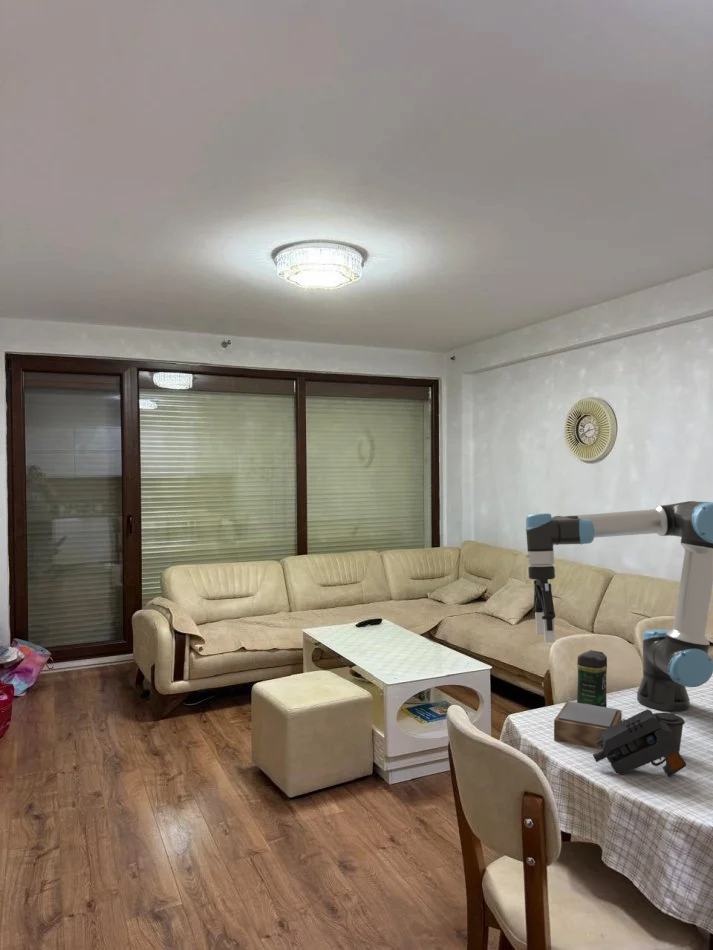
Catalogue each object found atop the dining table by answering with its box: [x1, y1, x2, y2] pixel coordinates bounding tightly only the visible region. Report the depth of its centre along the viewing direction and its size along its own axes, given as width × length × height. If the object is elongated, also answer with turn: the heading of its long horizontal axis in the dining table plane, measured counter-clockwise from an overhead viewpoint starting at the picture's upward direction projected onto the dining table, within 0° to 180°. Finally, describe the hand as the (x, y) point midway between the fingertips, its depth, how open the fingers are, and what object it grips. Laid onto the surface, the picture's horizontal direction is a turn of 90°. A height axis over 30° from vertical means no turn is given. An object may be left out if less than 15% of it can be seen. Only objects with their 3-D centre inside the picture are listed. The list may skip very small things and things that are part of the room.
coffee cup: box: [656, 712, 686, 754], centre depth 169 cm, size 8×8×10 cm
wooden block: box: [553, 701, 623, 751], centre depth 182 cm, size 15×17×6 cm
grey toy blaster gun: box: [592, 708, 687, 778], centre depth 159 cm, size 6×19×15 cm, turn 78°
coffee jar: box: [576, 649, 608, 708], centre depth 198 cm, size 10×8×19 cm
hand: (545, 638), depth 193 cm, fingers open, 13 cm apart
